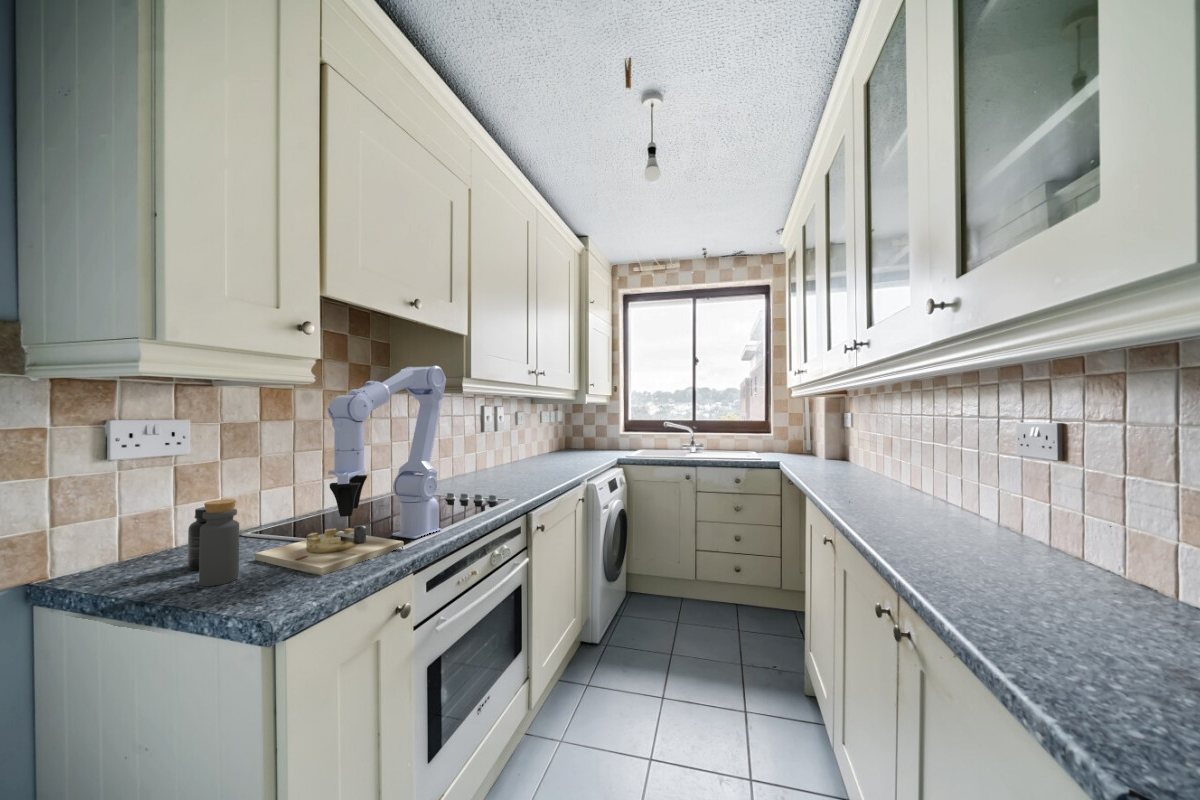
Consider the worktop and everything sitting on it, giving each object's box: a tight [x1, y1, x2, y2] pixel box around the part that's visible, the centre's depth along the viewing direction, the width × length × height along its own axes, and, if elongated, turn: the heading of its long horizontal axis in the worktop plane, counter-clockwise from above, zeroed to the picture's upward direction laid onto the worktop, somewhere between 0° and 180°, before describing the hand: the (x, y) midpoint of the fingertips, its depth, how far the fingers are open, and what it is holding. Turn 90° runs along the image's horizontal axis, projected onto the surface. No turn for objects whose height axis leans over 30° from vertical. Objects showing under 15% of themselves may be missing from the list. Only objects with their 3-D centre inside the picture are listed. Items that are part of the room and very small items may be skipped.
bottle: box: [198, 498, 240, 587], centre depth 89 cm, size 6×6×15 cm
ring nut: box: [305, 524, 367, 553], centre depth 104 cm, size 10×15×6 cm, turn 65°
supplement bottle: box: [187, 506, 207, 571], centre depth 97 cm, size 7×7×12 cm
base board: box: [254, 530, 405, 577], centre depth 105 cm, size 20×22×2 cm
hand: (349, 512), depth 102 cm, fingers open, 7 cm apart
